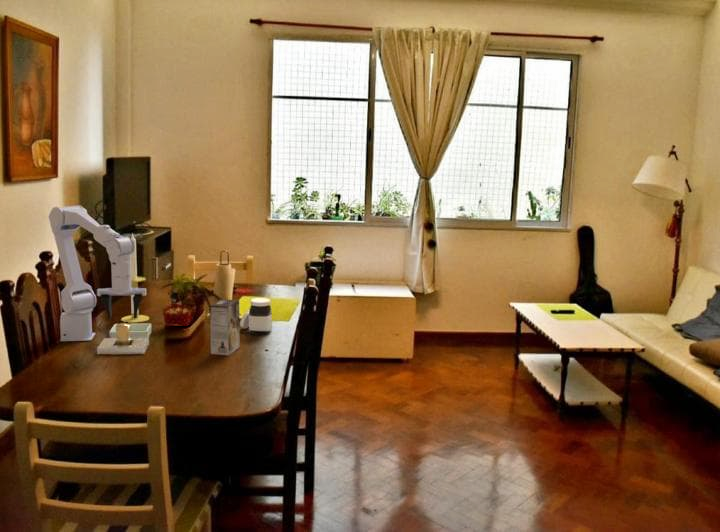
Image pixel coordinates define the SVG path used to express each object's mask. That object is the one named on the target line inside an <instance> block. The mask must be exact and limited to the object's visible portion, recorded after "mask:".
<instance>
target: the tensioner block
mask: <svg viewBox="0 0 720 532" xmlns="http://www.w3.org/2000/svg"><path fill="white" fill-rule="evenodd" d="M149 344H150V337H149V338H130V345H124V346H117V338H109V337H103V339H102V341H101V342H100V344H99V345H98V346H97V348H96V355H98V356H100V355H99V354H111V355H145V353H146V351H147V348H148V347H147V346H149Z"/></svg>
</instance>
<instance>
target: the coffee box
mask: <svg viewBox="0 0 720 532" xmlns="http://www.w3.org/2000/svg"><path fill="white" fill-rule="evenodd" d="M209 309H210V313H209V314H210V317H209V318H210V320H209V322H210V354H211V355H221V356H230V355H231V354H233V353H234V352H235V351H236V350H238V349H239V348H240V342H241V341H240V337H241V335H240V299H238V300H237V299H227V298H226V299H225V298H224V299H223V298H220V299H218V300H217V301H216V302H214V303H212V304H210V305H209Z"/></svg>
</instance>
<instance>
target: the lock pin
mask: <svg viewBox="0 0 720 532" xmlns="http://www.w3.org/2000/svg"><path fill="white" fill-rule="evenodd" d="M116 324H117V325H116V329H117V346H124V345H130V324H131V323H126V322H120V323H116Z"/></svg>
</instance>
